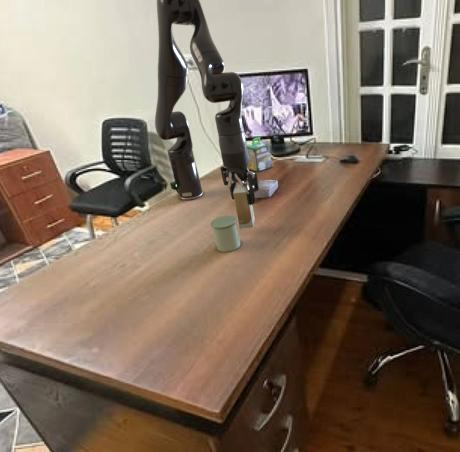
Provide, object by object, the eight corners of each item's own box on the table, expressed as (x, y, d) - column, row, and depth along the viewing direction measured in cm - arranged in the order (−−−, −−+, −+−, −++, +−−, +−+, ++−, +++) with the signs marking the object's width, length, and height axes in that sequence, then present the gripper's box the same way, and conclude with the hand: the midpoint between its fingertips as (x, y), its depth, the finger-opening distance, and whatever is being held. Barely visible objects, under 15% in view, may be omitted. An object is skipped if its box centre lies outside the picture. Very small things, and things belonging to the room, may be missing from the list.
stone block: (248, 202, 139) (271, 197, 136) (244, 190, 137) (267, 186, 134) (259, 191, 149) (280, 187, 146) (255, 180, 147) (277, 176, 144)
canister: (211, 247, 106) (205, 223, 102) (230, 237, 111) (225, 213, 107) (226, 254, 102) (221, 229, 98) (246, 243, 107) (241, 219, 103)
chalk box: (261, 163, 176) (257, 134, 170) (272, 166, 171) (268, 136, 164) (246, 168, 171) (241, 138, 164) (257, 172, 165) (253, 141, 158)
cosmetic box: (241, 220, 114) (235, 185, 109) (255, 218, 114) (249, 183, 109) (239, 229, 109) (232, 193, 103) (253, 227, 109) (247, 191, 103)
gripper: (260, 148, 98) (268, 201, 106) (228, 142, 107) (237, 192, 114) (239, 155, 93) (249, 211, 101) (208, 149, 102) (219, 200, 109)
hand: (243, 201), depth 108 cm, fingers closed on cosmetic box, 7 cm apart
